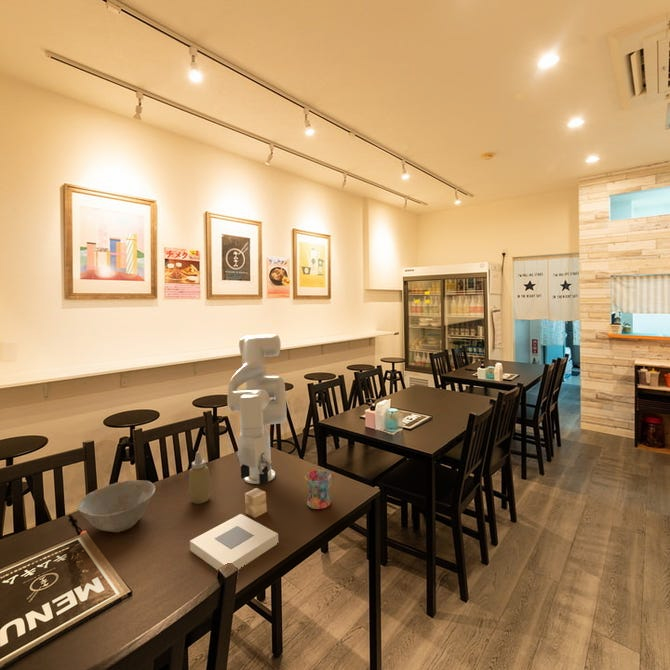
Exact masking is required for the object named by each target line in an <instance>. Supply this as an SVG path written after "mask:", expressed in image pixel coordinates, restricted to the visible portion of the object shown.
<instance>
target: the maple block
mask: <svg viewBox="0 0 670 670" xmlns="http://www.w3.org/2000/svg"><path fill="white" fill-rule="evenodd" d="M244 503H245V514H247V515H249V516H251V517H252V518H255V519H256V518H257V517H259V516H261V515H263V514H265V513H267V512H268V510H267V508H268V507H267V493H266V491H264V490H262V489H260V488H258V487H256V488H253V489H252V490H249V491H247V492H244Z"/></svg>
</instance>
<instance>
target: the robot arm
mask: <svg viewBox="0 0 670 670" xmlns="http://www.w3.org/2000/svg"><path fill="white" fill-rule="evenodd" d="M281 344H282V343H281V339H280V337H279V335H278V334H257V335H256V334H254V335H252V334H251V335H245V336H243V337H241V338H240V339H239V343H238V346H239V352H240V356H241V358H242V359H241V367H240V368H239V369H238V370H236V372H234V374H233V375H232V376H231V378H230V380H229V383H228V388H227V395H226V396H227V397H226V398H227V400H226V401H227V407H228V409H229V410H230V411H231V412H233V413H234V412H235V413H238V412H239V425H240V426H239V427H240V433H239V436H238V437H239V439H238V450H237V451H236V452H235V454H236V457H237V460H238V461H237V462H239V465H238V466H239V467H240V478H241V479H243V480H244V481H245V482H246V483H248V484H252V485H259V486H260V487H262V486H263V487H264V486H265V485H266V484H268V483H269V482H270V481H272V480H274V479H275V477H276V471H275V470H274V469H272V463H273V462H272V457H271V435H270V433H269V432H270V431H268V428H267V427H265V426H266V425H276V424H277V425H278V424H283V423H285V422H286V419H287V399H286V385H285V380H284V378H283V377H282V376H281V375H267V366H266V364H265V358H266V357H277V356H279V354H280V352H281ZM245 383H246V384H245ZM243 384H245V385H246V386H245V387H246V388H245V389H238V388H240V387H241V386H242V385H243Z"/></svg>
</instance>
